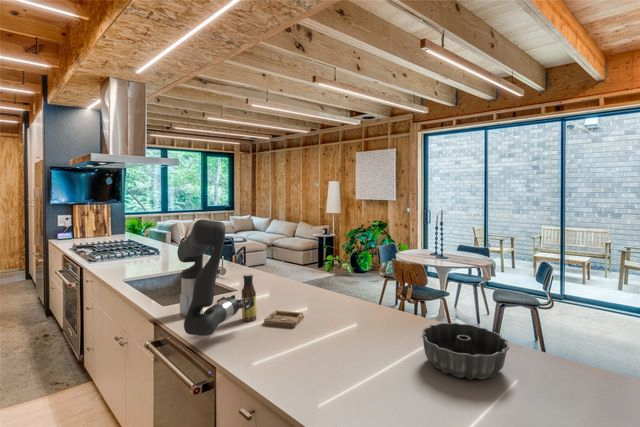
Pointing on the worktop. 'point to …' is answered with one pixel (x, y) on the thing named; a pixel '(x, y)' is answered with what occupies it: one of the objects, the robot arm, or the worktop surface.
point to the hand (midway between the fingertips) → (243, 298)
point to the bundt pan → (465, 350)
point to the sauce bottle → (246, 294)
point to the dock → (283, 319)
